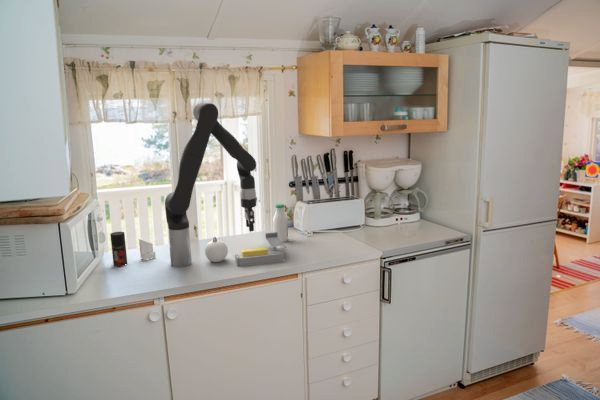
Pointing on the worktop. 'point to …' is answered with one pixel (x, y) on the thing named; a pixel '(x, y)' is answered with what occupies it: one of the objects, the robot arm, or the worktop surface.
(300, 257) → the worktop surface
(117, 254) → the deodorant
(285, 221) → the milk bottle
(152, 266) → the worktop surface
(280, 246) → the cover
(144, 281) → the worktop surface
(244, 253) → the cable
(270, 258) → the grey tray
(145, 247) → the white wedge bracket
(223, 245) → the ornament
